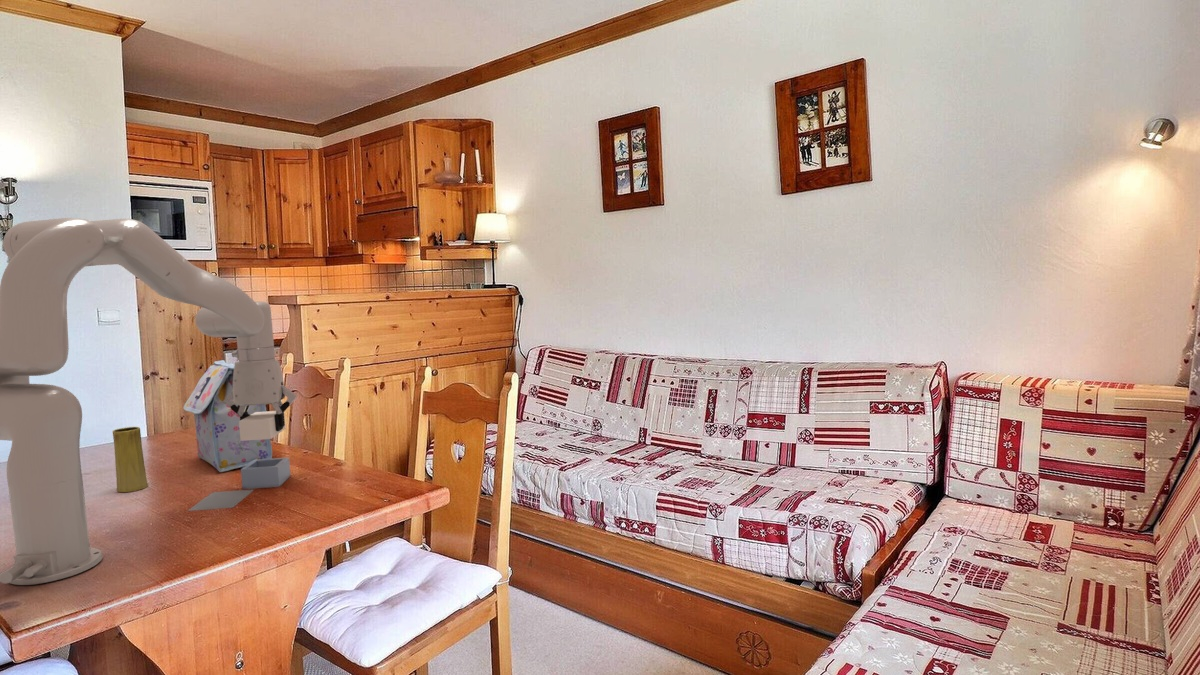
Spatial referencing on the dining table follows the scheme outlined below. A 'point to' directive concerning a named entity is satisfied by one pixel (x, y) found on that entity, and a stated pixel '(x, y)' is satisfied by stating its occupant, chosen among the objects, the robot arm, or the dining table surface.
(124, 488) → the vase
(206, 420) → the lunch bag
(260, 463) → the open box
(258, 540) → the dining table surface
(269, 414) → the lid
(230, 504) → the mat
